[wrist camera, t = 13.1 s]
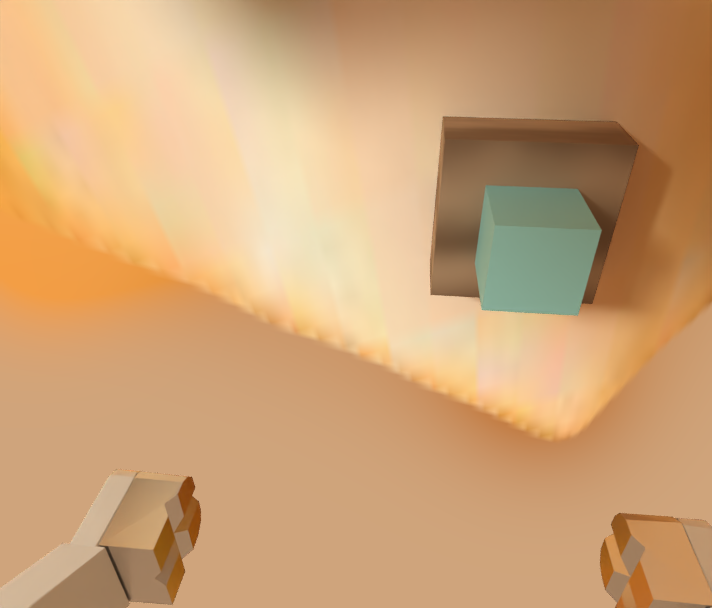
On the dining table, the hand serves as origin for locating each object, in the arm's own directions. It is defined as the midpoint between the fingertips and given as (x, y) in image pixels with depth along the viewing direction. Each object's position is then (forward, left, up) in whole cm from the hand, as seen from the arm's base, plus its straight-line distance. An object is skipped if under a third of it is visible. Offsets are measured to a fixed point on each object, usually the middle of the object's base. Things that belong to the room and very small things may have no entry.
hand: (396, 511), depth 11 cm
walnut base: (+8, +8, -34) cm, 36 cm away
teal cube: (+8, +8, -29) cm, 31 cm away
